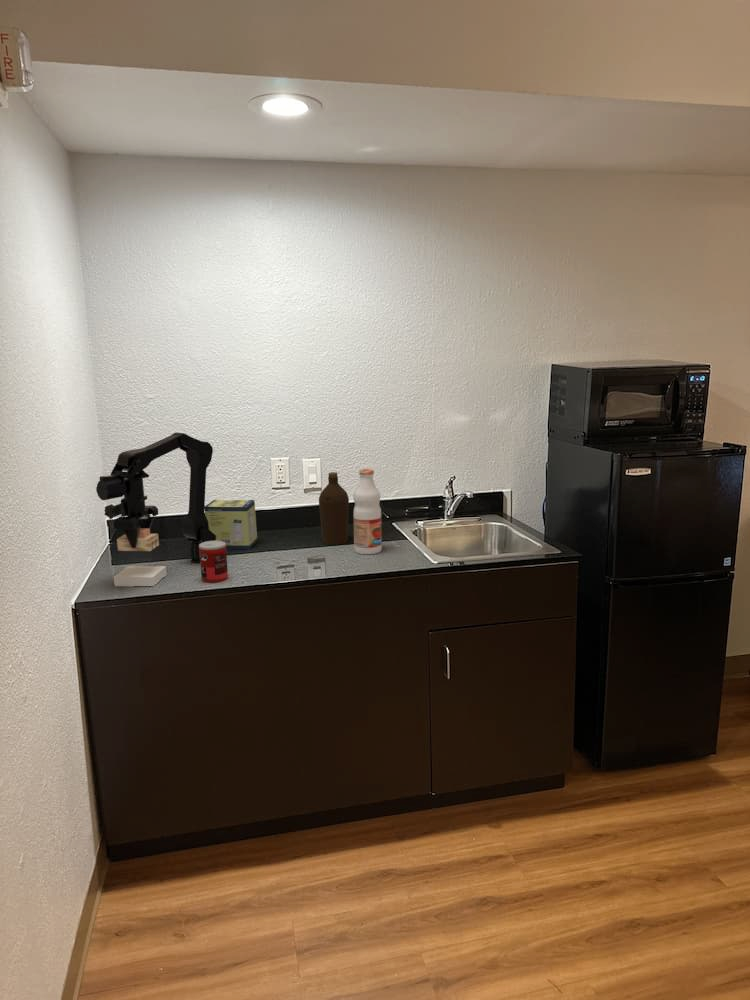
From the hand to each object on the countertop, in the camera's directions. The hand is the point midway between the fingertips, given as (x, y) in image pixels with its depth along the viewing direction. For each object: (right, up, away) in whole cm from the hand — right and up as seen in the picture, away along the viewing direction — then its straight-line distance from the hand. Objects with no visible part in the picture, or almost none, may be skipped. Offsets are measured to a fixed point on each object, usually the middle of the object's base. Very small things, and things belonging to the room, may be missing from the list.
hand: (138, 544), depth 206 cm
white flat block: (0, -11, +2) cm, 11 cm away
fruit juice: (+69, -4, +27) cm, 74 cm away
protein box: (+21, -3, +37) cm, 42 cm away
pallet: (0, -1, 0) cm, 1 cm away
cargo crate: (0, +3, -1) cm, 3 cm away
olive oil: (+57, -2, +39) cm, 69 cm away
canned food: (+22, -11, +2) cm, 25 cm away
